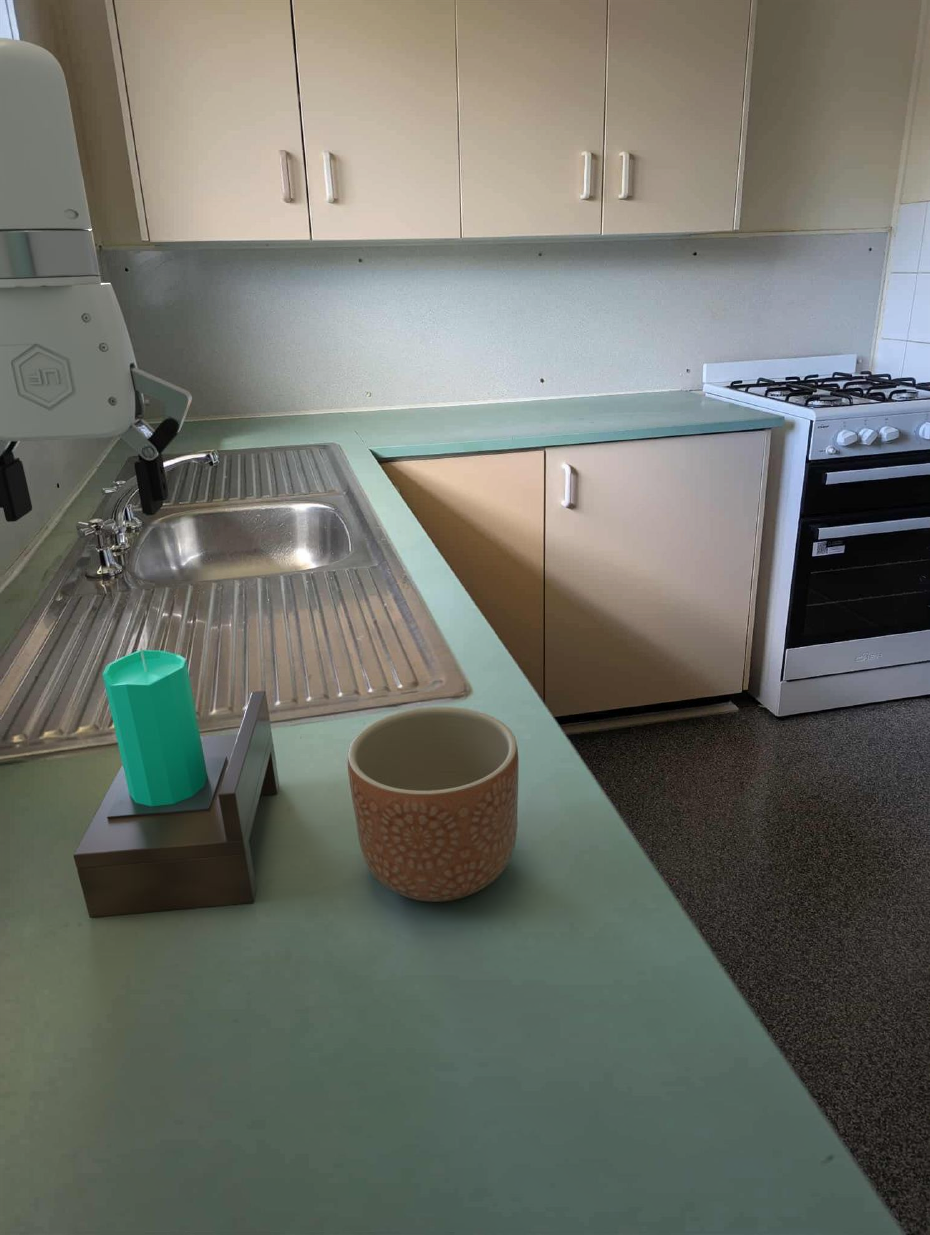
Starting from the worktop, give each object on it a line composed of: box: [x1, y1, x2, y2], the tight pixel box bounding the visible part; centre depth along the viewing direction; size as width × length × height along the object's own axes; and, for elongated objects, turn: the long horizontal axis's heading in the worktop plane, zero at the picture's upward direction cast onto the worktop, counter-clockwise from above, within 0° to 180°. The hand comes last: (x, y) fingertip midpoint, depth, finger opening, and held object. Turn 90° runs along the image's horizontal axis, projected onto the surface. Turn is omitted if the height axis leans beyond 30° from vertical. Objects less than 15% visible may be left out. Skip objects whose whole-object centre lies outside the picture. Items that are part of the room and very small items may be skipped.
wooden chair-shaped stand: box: [72, 690, 280, 918], centre depth 70 cm, size 12×16×10 cm
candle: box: [102, 646, 207, 806], centre depth 67 cm, size 6×6×12 cm
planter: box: [347, 706, 520, 903], centre depth 65 cm, size 12×12×11 cm
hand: (87, 513), depth 64 cm, fingers open, 9 cm apart
